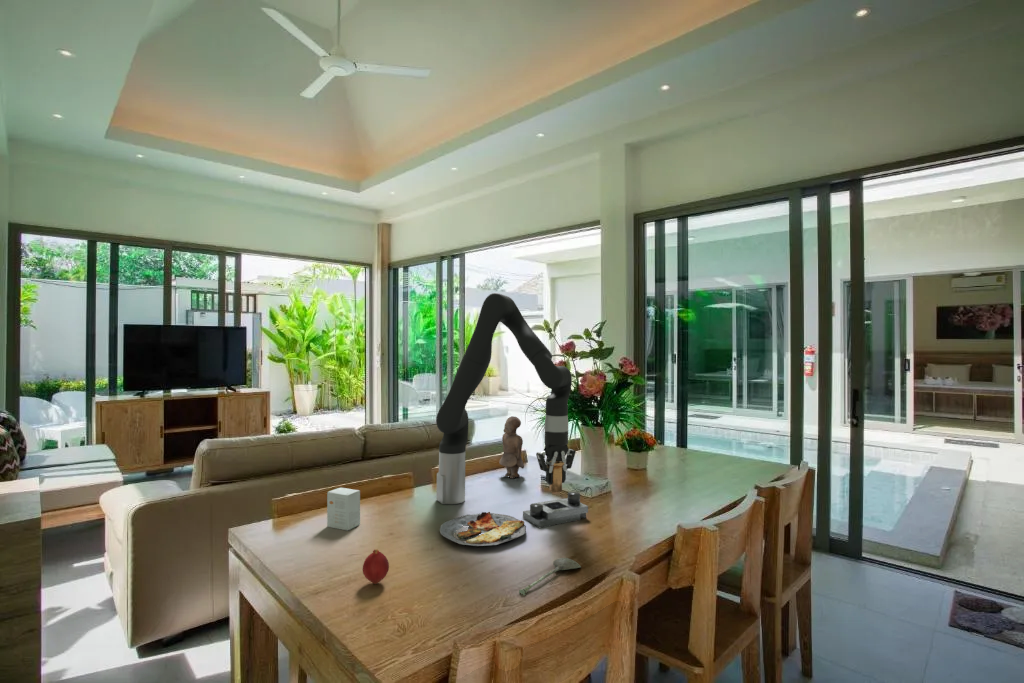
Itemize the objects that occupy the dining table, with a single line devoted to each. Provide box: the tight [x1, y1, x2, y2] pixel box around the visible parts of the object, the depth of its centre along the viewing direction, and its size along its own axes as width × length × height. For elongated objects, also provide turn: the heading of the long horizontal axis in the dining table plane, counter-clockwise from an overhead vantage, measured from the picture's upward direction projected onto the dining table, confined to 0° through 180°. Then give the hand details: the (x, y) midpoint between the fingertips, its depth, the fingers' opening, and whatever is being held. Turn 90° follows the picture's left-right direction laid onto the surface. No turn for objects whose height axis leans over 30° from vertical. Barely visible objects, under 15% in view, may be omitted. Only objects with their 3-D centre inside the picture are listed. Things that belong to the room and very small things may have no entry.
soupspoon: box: [518, 557, 582, 596], centre depth 122 cm, size 22×3×7 cm
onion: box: [362, 548, 390, 585], centre depth 118 cm, size 6×6×8 cm
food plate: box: [439, 511, 527, 548], centre depth 149 cm, size 25×23×4 cm
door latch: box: [522, 491, 589, 528], centre depth 163 cm, size 18×10×7 cm, turn 118°
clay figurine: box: [498, 416, 525, 479], centre depth 212 cm, size 13×10×25 cm
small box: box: [326, 486, 361, 531], centre depth 154 cm, size 8×6×10 cm
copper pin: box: [548, 461, 564, 493], centre depth 163 cm, size 5×5×9 cm
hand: (555, 482), depth 163 cm, fingers closed on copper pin, 4 cm apart
